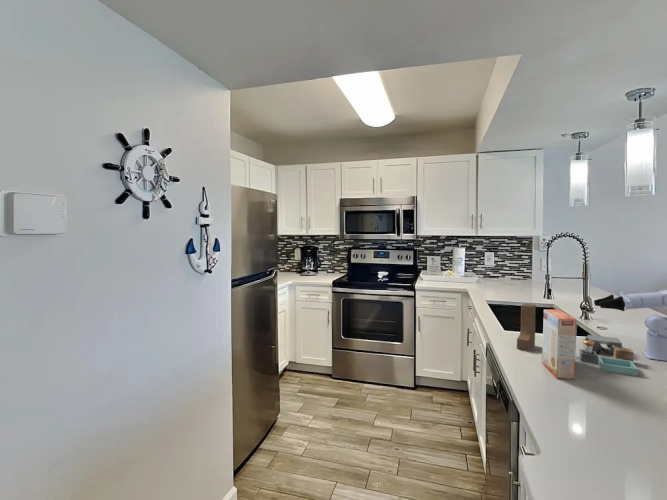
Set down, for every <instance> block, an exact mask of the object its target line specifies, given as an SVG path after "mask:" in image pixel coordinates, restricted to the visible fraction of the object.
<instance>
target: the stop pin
mask: <svg viewBox="0 0 667 500" xmlns="http://www.w3.org/2000/svg"><path fill="white" fill-rule="evenodd" d="M582 343H583V344H584V350H585V353H587V354H592V350H593V345H595V342H594V341H591V340H585V339H583V340H582Z"/></svg>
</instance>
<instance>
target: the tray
mask: <svg viewBox="0 0 667 500" xmlns="http://www.w3.org/2000/svg"><path fill="white" fill-rule="evenodd" d="M597 365H598V367H599V369H600V371H601V372H606V373H612V374H620V375H627V376H628V375H629V376H634V377H638V376H639V368H638V367H637V366H636V365H635V363H634V361H633V362H632V361H629V360H621V359H613V357H605V356H598V363H597Z"/></svg>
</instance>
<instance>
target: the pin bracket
mask: <svg viewBox="0 0 667 500" xmlns="http://www.w3.org/2000/svg"><path fill="white" fill-rule="evenodd" d="M578 356H579V359H580V361H581V362H584V363H585V362H586V363H592V364H593V363H594V364H598V357H599V355H598V354H597V353H596V351H592V354H587V353H585V349H582V348H579V355H578Z"/></svg>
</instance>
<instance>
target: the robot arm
mask: <svg viewBox="0 0 667 500" xmlns="http://www.w3.org/2000/svg"><path fill="white" fill-rule="evenodd" d="M619 293H620V295H619V296H617V297H615V296H614V294H610V295H608V296H606V297H603V298H602V297H601V298H598V299H595V300H594V301H593V302H594V303H593V304H594V306H596V307H600V308H601V309H608V310H609V309H610V310H612V309H613V310H618V311H621V312H625V311H626V310H632V309H633V310H634V309H635V310H636V309H648V308H649V309H650V308H658V307H659V308H661V307H662V308H663V307H667V289H660V290H658V291H655V292H641V293H640V292H639V293H630V294H629V293H628V294H625V292H624V291H620V292H619ZM644 325H645V327H646V329H647V331H646V347H645V349H646V350H642V354H644V356H645V357H646V358H647V359H649V360H659V361H665V362H667V316H661V315H659V314H650V315H648V316H646V318H645V319H644Z"/></svg>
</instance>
